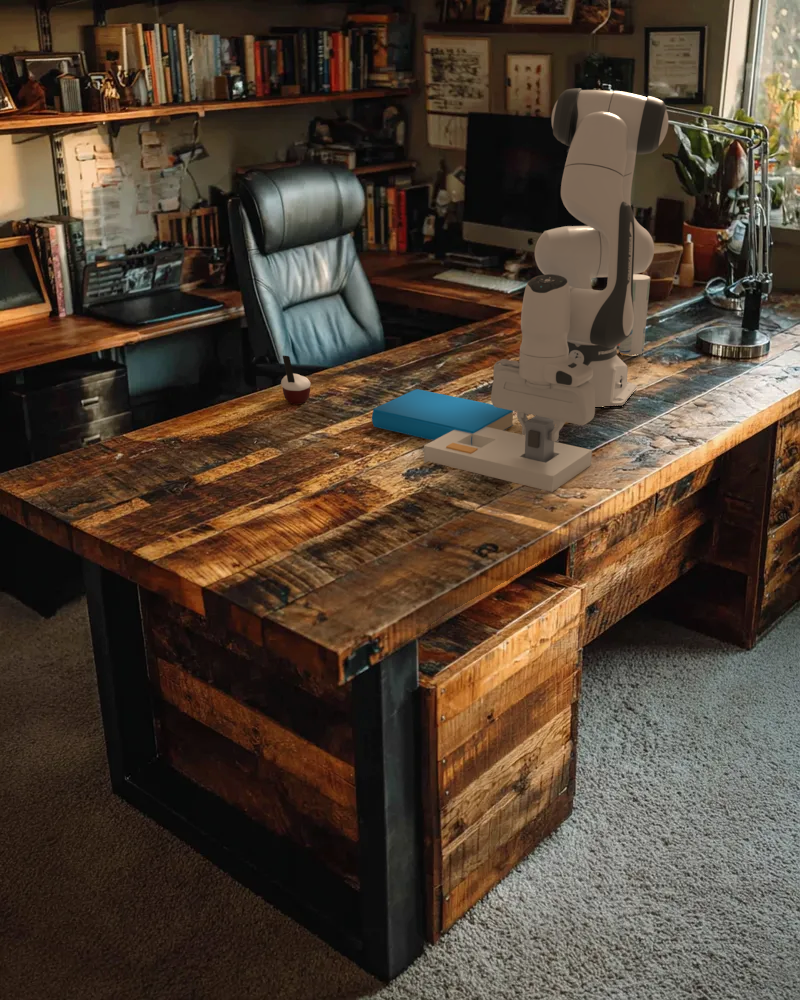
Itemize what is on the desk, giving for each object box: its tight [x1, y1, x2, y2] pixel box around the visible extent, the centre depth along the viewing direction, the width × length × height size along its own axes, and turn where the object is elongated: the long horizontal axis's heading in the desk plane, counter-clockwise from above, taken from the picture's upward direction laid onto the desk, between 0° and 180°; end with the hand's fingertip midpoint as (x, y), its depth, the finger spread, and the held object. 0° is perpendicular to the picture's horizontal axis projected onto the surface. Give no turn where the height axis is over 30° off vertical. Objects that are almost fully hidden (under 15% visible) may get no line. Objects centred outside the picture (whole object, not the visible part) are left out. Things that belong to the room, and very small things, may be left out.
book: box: [371, 388, 514, 445], centre depth 230 cm, size 17×4×25 cm
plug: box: [525, 415, 556, 463], centre depth 205 cm, size 5×4×9 cm
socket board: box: [423, 427, 593, 493], centre depth 210 cm, size 16×28×4 cm, turn 55°
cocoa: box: [280, 354, 312, 405], centre depth 246 cm, size 10×6×12 cm, turn 140°
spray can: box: [618, 273, 651, 355], centre depth 279 cm, size 6×6×20 cm
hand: (540, 437), depth 204 cm, fingers closed on plug, 4 cm apart
